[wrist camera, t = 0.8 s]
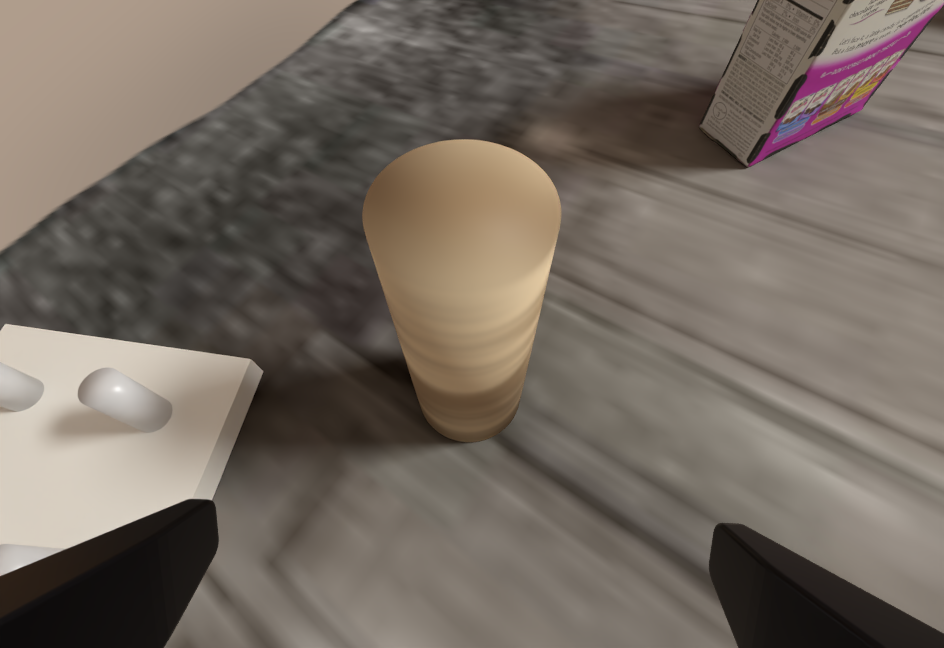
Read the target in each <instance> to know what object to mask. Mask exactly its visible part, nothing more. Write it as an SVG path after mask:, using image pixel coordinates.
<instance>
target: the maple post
mask: <svg viewBox="0 0 944 648" xmlns="http://www.w3.org/2000/svg"><path fill="white" fill-rule="evenodd" d="M362 218H363V227H364V231H365V235H366V238H367V241H368V244H369V247H370V251H371V254H372V257H373V260H374V263H375V266H376V269H377V272H378V276H379V279H380V282H381V285H382V288H383V291H384V294H385V297H386V301H387V304H388V307H389V310H390V313H391V316H392V319H393V322H394V326H395V329H396V332H397V335H398V338H399V341H400V344H401V347H402V351H403V354H404V357H405V360H406V363H407V366H408V369H409V373H410V376H411V379H412V382H413V385H414V388H415V391H416V394H417V398H418V401H419V404H420V407H421V410H422V412H423V415H424V416H425V418H426V420H427V421H428V423H429V424H430V425H431V426H432V427H433V428H434V429H435V430H436V431H437V432H439V433H440V434H442V435H443V436H445V437H447V438H450V439H453V440H456V441H460V442H477V441H483V440H486V439H489V438H491V437H493V436H495V435H497V434H498V433H500V432H501V431H502V430H503V429H505V428H506V427H507V426H508V424H509V423H510V422H511V421H512V419H513V418H514V416H515V414H516V412H517V409H518V406H519V402H520V398H521V393H522V389H523V384H524V380H525V376H526V371H527V367H528V363H529V358H530V354H531V350H532V345H533V341H534V337H535V332H536V328H537V323H538V319H539V315H540V310H541V306H542V302H543V297H544V293H545V289H546V284H547V280H548V276H549V271H550V267H551V262H552V258H553V254H554V249H555V245H556V241H557V236H558V232H559V227H560V222H561V205H560V199H559V196H558V193H557V190H556V188H555V186H554V184H553V183H552V181H551V179H550V178H549V177H548V175H547V174H546V173H545V172H544V171H543V170H542V169H541V168H540V167H539V166H538V165H537V164H536V163H535V162H533V161H532V160H531V159H530V158H528V157H526V156H525V155H523V154H521V153H520V152H517V151H515V150H513V149H511V148H508V147H505V146H503V145H500V144H496V143H492V142H487V141H480V140H467V139H461V140H448V141H440V142H436V143H431V144H428V145H425V146H422V147H419V148H416V149H414V150H412V151H409V152H408V153H406V154H404V155H402V156H400V157H399V158H397V159H396V160H394V161H393V162H392V163H390V164H389V165H388V166H387V167H386V168H385V169H384V170H383V171H382V172H381V173H380V174H379V175H378V176H377V177H376V179H375V180H374V182H373V183H372V185H371V186H370V188H369V191H368V193H367V195H366V198H365V201H364V205H363V214H362Z"/></svg>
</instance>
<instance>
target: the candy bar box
mask: <svg viewBox="0 0 944 648" xmlns="http://www.w3.org/2000/svg"><path fill="white" fill-rule="evenodd" d="M943 5H944V0H757V3H756V5H755V7H754V9H753V11H752V13H751V15H750V17H749V19H748V21H747V24H746V26H745V28H744V30H743V33H742V35H741V37H740V39H739V42H738V44H737V46H736V48H735V50H734V52H733V54H732V56H731V58H730V61H729V63H728V65H727V67H726V69H725V71H724V73H723V76H722V78H721V80H720V82H719V84H718V86H717V88H716V91H715V93H714V95H713V97H712V99H711V101H710V104H709V106H708V108H707V110H706V112H705V114H704V116H703V119H702V121H701V123H700V125H699V127H700V129H701V130H702V131H703V132H704V133H705V134H706V135H707V136H708V137H710V138H711V139H712V140H714V141H715V142H717V143H718V144H719V145H720V146H722V147H723V148H724V149H726V150H727V151H728V152H729V153H730V154H732V155H733V156H734V157H735V158H736V159H737V160H739V161H740V162H741V163H743V164H744V165H745V166H747V167H750V166H752V165H754V164H756V163H758V162H760V161H762V160H764V159H766V158H768V157H770V156H772V155H774V154H775V153H777V152H779V151H781V150H783V149H785V148H787V147H789V146H791V145H793V144H795V143H797V142H799V141H800V140H802V139H804V138H806V137H808V136H810V135H812V134H814V133H817V132H819V131H820V130H822V129H825V128H827V127H828V126H830V125H832V124H834V123H836V122H838V121H840V120H842V119H844V118H846V117H848V116H850V115H852V114H854V113H856V112H858V111H860V110H862V109H863V107H864V106H865V104H866V103H867V101H868V100H869V99H870V98H871V96H872V95H873V94H874V93H875V91H876V90H877V89H878V88H879V86H880V85H881V84H882V82H883V81H884V80H885V79H886V77H887V76H888V75H889V73H890V72H891V71H892V70H893V68H894V67H895V66H896V65H897V64H898V62H899V61H900V60H901V58H902V57H903V56H904V54H905V53H906V52H907V51H908V49H909V48H910V47H911V45H912V44H913V43H914V42H915V40H916V39H917V38H918V36H919V35H920V34H921V33H922V32H923V30H924V29H925V27H926V26H927V25H928V24H929V22H930V21H931V20H932V19H933V17H934V16H935V15H936V13H937V12H938V11H939V10H940V9H941V8H942V6H943Z"/></svg>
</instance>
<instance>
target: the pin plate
mask: <svg viewBox="0 0 944 648" xmlns="http://www.w3.org/2000/svg"><path fill="white" fill-rule="evenodd" d="M262 374H263V371H262V370H261V369H260V368H259V367H258V366H257V365H256V364H255V363H254V362H253V361H252V360H251V359H246V358H239V357H232V356H225V355H218V354H211V353H205V352H198V351H191V350H184V349H177V348H170V347H163V346H156V345H149V344H142V343H135V342H128V341H121V340H114V339H107V338H100V337H93V336H86V335H79V334H72V333H65V332H58V331H51V330H44V329H37V328H30V327H23V326H16V325H9V324H5V325H4V327H3V328H2V330H1V331H0V576H1V575H4V574H6V573H9V572H11V571H13V570H16V569H18V568H21V567H23V566H26V565H28V564H31V563H33V562H35V561H38V560H40V559H43V558H45V557H48V556H50V555H53V554H55V553H57V552H60V551H62V550H65V549H67V548H70V547H72V546H75V545H77V544H79V543H82V542H84V541H87V540H89V539H92V538H94V537H97V536H99V535H101V534H104V533H106V532H109V531H111V530H114V529H116V528H118V527H121V526H123V525H126V524H128V523H131V522H133V521H136V520H138V519H140V518H143V517H145V516H148V515H150V514H153V513H155V512H158V511H160V510H162V509H165V508H167V507H170V506H172V505H175V504H177V503H180V502H182V501H184V500H187V499H209V500H211V501H212V499H213V497H214V494H215V492H216V489H217V487H218V484H219V482H220V479H221V477H222V474H223V472H224V469H225V467H226V464H227V462H228V459H229V457H230V454H231V452H232V449H233V447H234V444H235V442H236V439H237V437H238V434H239V432H240V429H241V427H242V424H243V422H244V419H245V417H246V414H247V412H248V409H249V407H250V404H251V402H252V399H253V397H254V394H255V392H256V389H257V387H258V384H259V382H260V379H261V377H262Z"/></svg>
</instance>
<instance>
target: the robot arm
mask: <svg viewBox="0 0 944 648" xmlns="http://www.w3.org/2000/svg"><path fill="white" fill-rule="evenodd" d="M218 542H219V537H218V526H217V515H216V507H215V504H214V502H213V501H211V500H209V499H187V500H184V501H182V502H180V503H177V504H175V505H172V506H170V507H167V508H165V509H162V510H160V511H158V512H155V513H153V514H150V515H148V516H145V517H143V518H140V519H138V520H136V521H133V522H131V523H128V524H126V525H123V526H121V527H118V528H116V529H114V530H111V531H109V532H106V533H104V534H101V535H99V536H97V537H94V538H92V539H89V540H87V541H84V542H82V543H79V544H77V545H75V546H72V547H70V548H67V549H65V550H62V551H60V552H57V553H55V554H53V555H50V556H48V557H45V558H43V559H40V560H38V561H35V562H33V563H31V564H28V565H26V566H23V567H21V568H18V569H16V570H13V571H11V572H9V573H6V574H4V575H1V576H0V648H164V646H165V645H166V643H167V641H168V640H169V638H170V637H171V635H172V633H173V631H174V630H175V628H176V626H177V624H178V623H179V621H180V619H181V617H182V615H183V613H184V611H185V610H186V608H187V606H188V604H189V602H190V600H191V599H192V597H193V595H194V593H195V591H196V589H197V587H198V586H199V584H200V582H201V580H202V578H203V576H204V575H205V573H206V571H207V569H208V567H209V565H210V563H211V562H212V560H213V558H214V556H215V554H216V551H217V548H218ZM709 572H710V577H711V580H712V583H713V585H714V588H715V590H716V593H717V595H718V598H719V600H720V603H721V605H722V608H723V610H724V613H725V615H726V618H727V620H728V623H729V625H730V628H731V631H732V633H733V636H734V638H735V641H736V643H737V646H738V648H944V633H942V632H940V631H938V630H936V629H934V628H932V627H931V626H929V625H927V624H925V623H923V622H921V621H920V620H918V619H916V618H914V617H912V616H910V615H909V614H907V613H905V612H903V611H901V610H899V609H898V608H896V607H894V606H892V605H890V604H888V603H886V602H885V601H883V600H881V599H879V598H877V597H875V596H874V595H872V594H870V593H868V592H866V591H864V590H863V589H861V588H859V587H857V586H855V585H853V584H852V583H850V582H848V581H846V580H844V579H842V578H840V577H839V576H837V575H835V574H833V573H831V572H829V571H828V570H826V569H824V568H822V567H820V566H818V565H817V564H815V563H813V562H811V561H809V560H807V559H806V558H804V557H802V556H800V555H798V554H796V553H794V552H793V551H791V550H789V549H787V548H785V547H783V546H782V545H780V544H778V543H776V542H774V541H772V540H771V539H769V538H767V537H765V536H763V535H761V534H760V533H758V532H756V531H754V530H752V529H750V528H748V527H747V526H745V525H743V524H736V523H719V524H717V525H716V527H715V529H714V532H713V539H712V546H711V553H710V560H709Z"/></svg>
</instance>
